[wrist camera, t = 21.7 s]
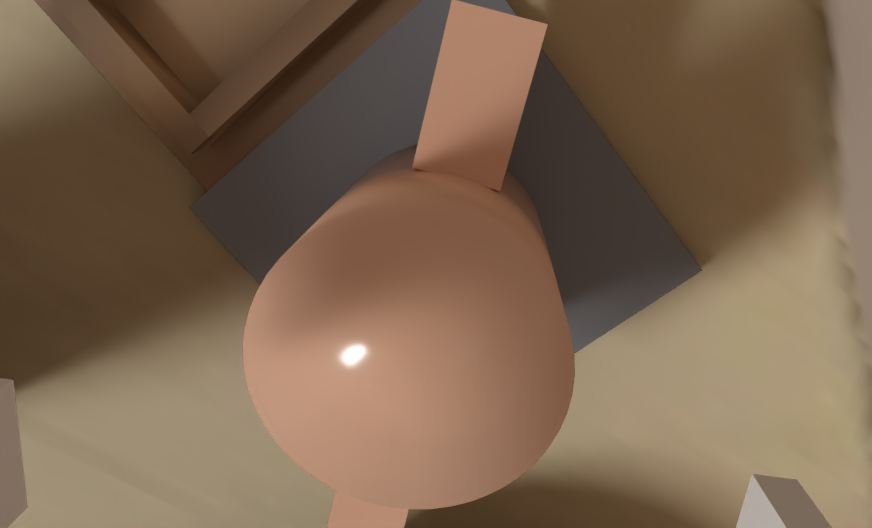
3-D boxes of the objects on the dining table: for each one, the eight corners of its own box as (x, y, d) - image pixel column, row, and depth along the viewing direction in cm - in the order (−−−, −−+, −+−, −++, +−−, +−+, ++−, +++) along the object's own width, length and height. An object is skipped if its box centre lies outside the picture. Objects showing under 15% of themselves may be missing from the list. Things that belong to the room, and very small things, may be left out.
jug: (498, 402, 27) (501, 594, 18) (311, 353, 27) (213, 519, 18) (611, 48, 22) (697, 52, 13) (385, -11, 22) (306, -50, 13)
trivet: (697, 264, 25) (702, 270, 25) (419, 447, 29) (417, 455, 28) (473, -43, 22) (473, -45, 22) (195, 203, 26) (189, 207, 25)
